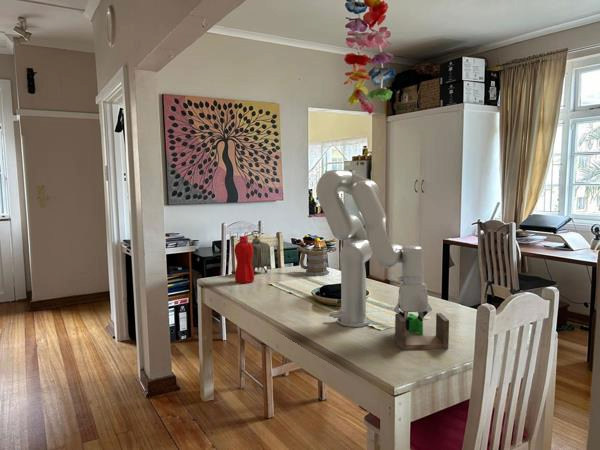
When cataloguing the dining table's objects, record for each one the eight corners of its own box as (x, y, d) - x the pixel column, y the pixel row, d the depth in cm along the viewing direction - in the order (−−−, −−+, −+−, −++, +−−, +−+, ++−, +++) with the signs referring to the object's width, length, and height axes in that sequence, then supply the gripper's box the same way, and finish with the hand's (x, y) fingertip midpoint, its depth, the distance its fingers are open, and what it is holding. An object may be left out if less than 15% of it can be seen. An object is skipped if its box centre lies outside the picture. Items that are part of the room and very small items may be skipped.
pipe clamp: (402, 325, 170) (402, 313, 169) (412, 325, 170) (412, 313, 170) (412, 335, 159) (412, 323, 158) (422, 335, 159) (422, 322, 159)
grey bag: (270, 272, 264) (269, 231, 261) (259, 275, 257) (258, 232, 254) (253, 269, 273) (252, 229, 271) (242, 272, 266) (241, 230, 264)
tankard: (331, 272, 263) (331, 247, 262) (321, 276, 253) (321, 250, 251) (303, 269, 274) (302, 244, 272) (291, 273, 263) (291, 247, 262)
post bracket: (400, 349, 146) (401, 321, 145) (394, 340, 154) (395, 313, 153) (448, 348, 147) (449, 320, 146) (440, 339, 155) (441, 313, 154)
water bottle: (243, 285, 235) (242, 238, 232) (232, 281, 243) (231, 236, 240) (258, 282, 240) (257, 236, 238) (247, 278, 249) (246, 234, 246)
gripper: (392, 283, 158) (392, 333, 160) (438, 281, 159) (438, 331, 160) (387, 278, 166) (388, 326, 168) (432, 276, 166) (432, 324, 168)
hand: (413, 328), depth 164 cm, fingers open, 4 cm apart
